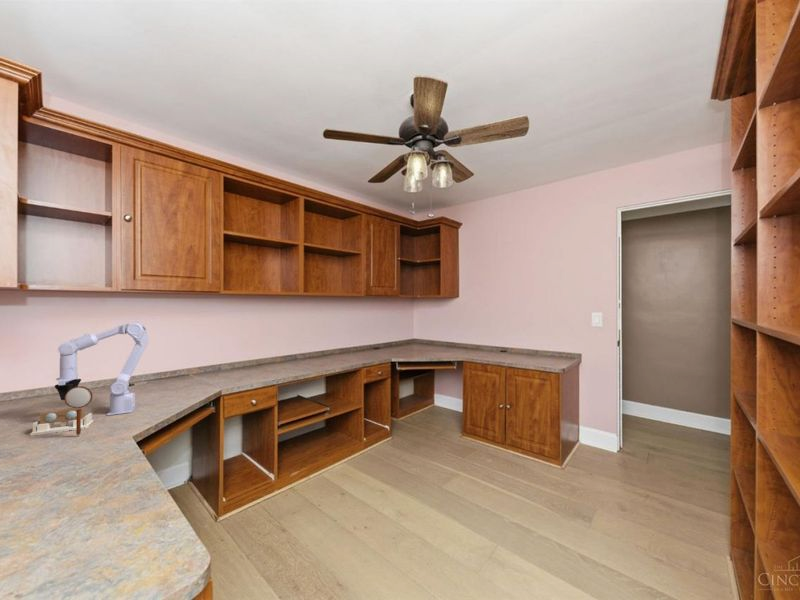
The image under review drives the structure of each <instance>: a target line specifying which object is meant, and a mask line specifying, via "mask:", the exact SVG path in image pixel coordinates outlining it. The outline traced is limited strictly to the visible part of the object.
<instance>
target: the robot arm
mask: <svg viewBox="0 0 800 600" xmlns="http://www.w3.org/2000/svg"><path fill="white" fill-rule="evenodd" d="M126 334H127V335H129V336H130V337H131V338H132V339H133V340H134V342H135V343H134V346H133V348H132V349H131V352H130V354H129V356H128V357H127V360H126V361H125V363H124V366H123V367H122V370H121V371H120V374H119V375H118V377H117V378H116V380H114V381H113V383H112V384H111V385H110V386H109V412H108V413H106V416H112V415H113V416H114V415H121V414H130V413H132V412H134V411H135V409H136V392H130V390H129V389H128V388H129V386H130V379H131V377H132V375H133V373H134V371H135V368H136V367H137V365H138V363H139V362H140V359H141V357H142V355H143V354H144V352H145V349H146V348H147V345H148V344H149V338H148V333H147V328H146V327H145V326H144V324H143V323H142V322H139V321H135V322H134V321H133V322H130V323H126V324H122V325H117V326H115V327H113V328H110V329H107V330H105V331H102V332H100V333H97V334H94V333H89V334H88V333H84V334H83V336H80V337H77V338H72V339H70V341H65V342H63V343H61V344H59V346H58V349H57V350H58V352H59V353H60V354H59V377H57V378H55V381H58V384H55V385H54V388H55V389H56V390H57V392H58V395H59V398H60V399H61V400H60V401H65V395H66V393H67V392H68V391H69V390H70V389H72V388H74V387H77V386H80V383H81V381H82V378H78V377H79V375H78V356H77V355H78V352H79V351H83V350H85V349H87V348H91V347H94V346H96V345H98V344H99V341H101V340H104V339H107V338H110V337H113V336H116V335H126Z"/></svg>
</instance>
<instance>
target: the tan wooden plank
mask: <svg viewBox="0 0 800 600" xmlns="http://www.w3.org/2000/svg"><path fill="white" fill-rule="evenodd" d="M80 409H81V419H83V418H84V417H85V416H86V406H84V407H82V408H80ZM39 419H40V424H46V423H54V424H55V423H61V422H63V421H68V422H70V421H71V422H72V421H74V420H77V408H72V407H70V408H69V407H68V408H60V409H52V410H51V409H50V410H44V411H41V412H40V413H39Z"/></svg>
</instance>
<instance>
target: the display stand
mask: <svg viewBox="0 0 800 600" xmlns="http://www.w3.org/2000/svg"><path fill="white" fill-rule="evenodd" d="M93 421H94V419H93V413H92V412H89V413H87V414H86V415H85V417H84V418H83V419H81V430H85V429H84V428H86V429H88V428H89V425H90V424H91V423H92V422H93ZM76 422H77V420H72V421H71V422H70V421H63V422H60V423H56V424H55V423H46V424H40V418H39V419H37V420H36V421H34V422H33V423H32V432H30V433H29V437H33V436H39V435H46V434H56V432H57V433H63V431H64V432H69V430H72V431H76ZM94 422H95V421H94ZM94 422H93V423H94ZM93 423H92V424H93ZM92 424H91V425H92ZM91 425H90V426H91Z"/></svg>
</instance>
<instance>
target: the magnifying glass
mask: <svg viewBox="0 0 800 600" xmlns="http://www.w3.org/2000/svg"><path fill="white" fill-rule="evenodd" d="M92 400H93V393H92V391H91V390H90V389H89V388H88V387H87V386H83V385H82V386H81V385H78V386H77V387H74V388H72V389H70V390H69V391H68V392H67V393H66V395H65V400H64V402H65V404H66V405H67V406H68V407H70V408H77V422H76V430H75V431H76V436H77V437H78V436H79V437H80V436H81V433H82V431H81V430H82V429H81V409H80V408H82V407H87V406H88V405H89V404H90V403H91V402H92Z"/></svg>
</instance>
